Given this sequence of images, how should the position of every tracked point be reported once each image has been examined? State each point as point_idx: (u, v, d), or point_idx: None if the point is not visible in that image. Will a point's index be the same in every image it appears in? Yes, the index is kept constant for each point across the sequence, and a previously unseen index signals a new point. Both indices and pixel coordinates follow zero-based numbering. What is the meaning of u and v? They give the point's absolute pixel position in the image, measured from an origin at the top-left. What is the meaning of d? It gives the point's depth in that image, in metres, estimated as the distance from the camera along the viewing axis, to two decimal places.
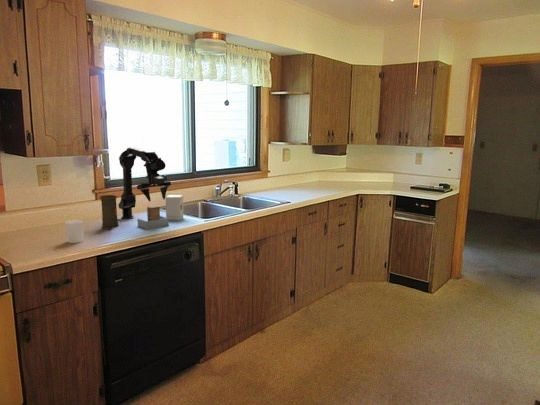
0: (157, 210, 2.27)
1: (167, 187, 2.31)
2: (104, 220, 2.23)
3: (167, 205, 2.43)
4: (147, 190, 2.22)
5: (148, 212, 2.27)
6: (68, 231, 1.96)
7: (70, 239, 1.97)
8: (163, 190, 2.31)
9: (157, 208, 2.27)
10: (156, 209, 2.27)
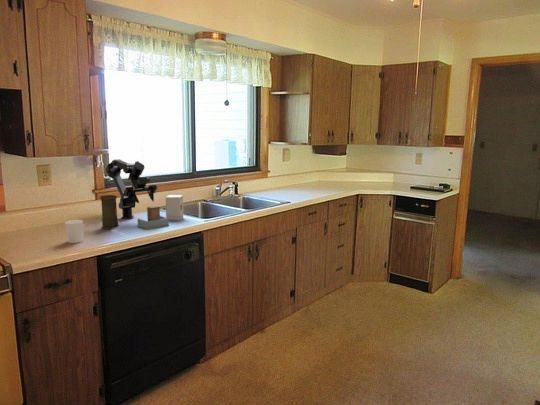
0: (157, 210, 2.27)
1: (153, 189, 2.38)
2: (104, 220, 2.23)
3: (167, 205, 2.43)
4: (133, 192, 2.30)
5: (148, 212, 2.27)
6: (68, 231, 1.96)
7: (70, 239, 1.97)
8: (150, 193, 2.38)
9: (157, 208, 2.27)
10: (156, 209, 2.27)
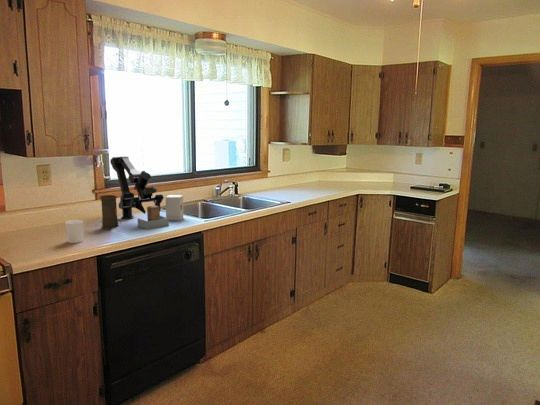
0: (157, 210, 2.27)
1: (160, 199, 2.34)
2: (104, 220, 2.23)
3: (167, 205, 2.43)
4: (139, 202, 2.26)
5: (148, 212, 2.27)
6: (68, 231, 1.96)
7: (70, 239, 1.97)
8: (157, 203, 2.34)
9: (157, 208, 2.27)
10: (156, 209, 2.27)
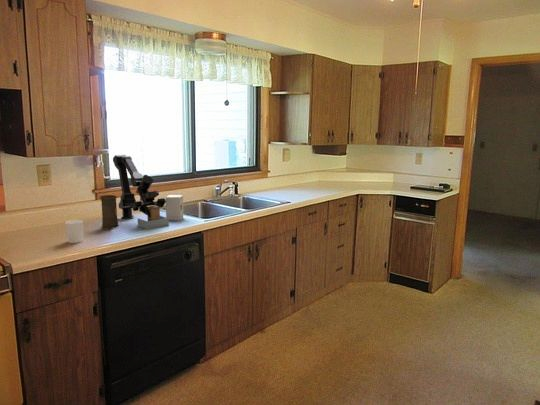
0: (157, 210, 2.27)
1: (159, 203, 2.32)
2: (104, 220, 2.23)
3: (167, 205, 2.43)
4: (145, 206, 2.26)
5: None
6: (68, 231, 1.96)
7: (70, 239, 1.97)
8: None
9: (157, 208, 2.27)
10: (156, 209, 2.27)
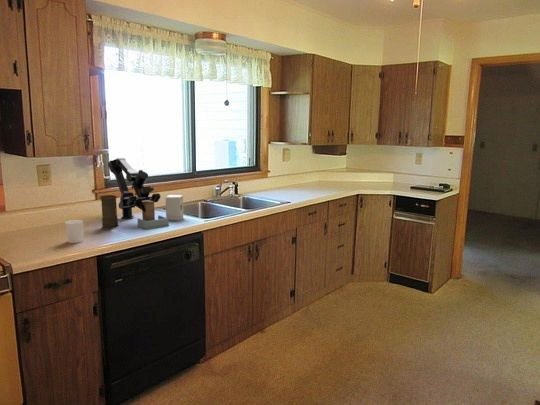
0: (152, 205, 2.31)
1: (154, 198, 2.35)
2: (104, 220, 2.23)
3: (167, 205, 2.43)
4: (140, 201, 2.29)
5: None
6: (68, 231, 1.96)
7: (70, 239, 1.97)
8: None
9: (152, 203, 2.31)
10: (150, 204, 2.30)
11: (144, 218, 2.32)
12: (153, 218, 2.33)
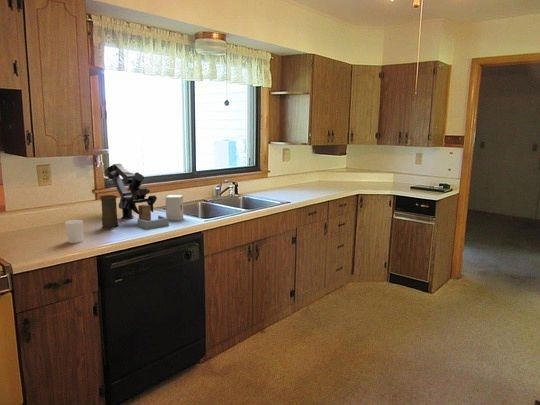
0: (148, 209, 2.35)
1: (153, 200, 2.40)
2: (104, 220, 2.23)
3: (167, 205, 2.43)
4: (133, 203, 2.32)
5: (139, 211, 2.35)
6: (68, 231, 1.96)
7: (70, 239, 1.97)
8: (150, 204, 2.40)
9: (148, 207, 2.34)
10: (147, 208, 2.34)
11: None
12: None
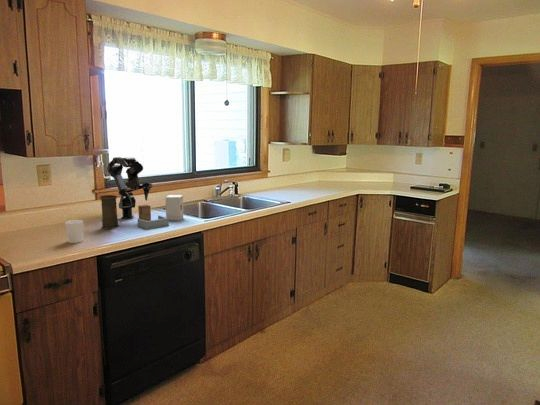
0: (148, 209, 2.35)
1: (145, 188, 2.36)
2: (104, 220, 2.23)
3: (167, 205, 2.43)
4: (125, 195, 2.37)
5: (139, 211, 2.35)
6: (68, 231, 1.96)
7: (70, 239, 1.97)
8: None
9: (148, 207, 2.35)
10: (147, 208, 2.34)
11: None
12: None
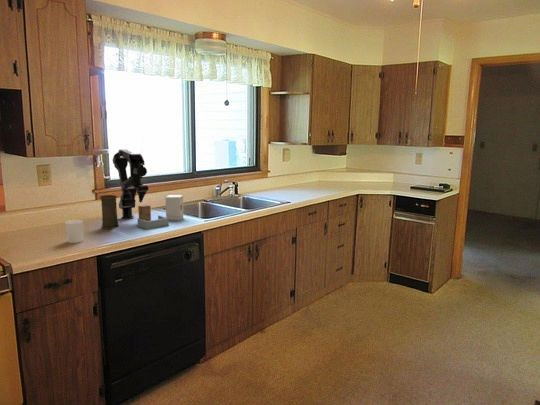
0: (148, 209, 2.35)
1: (137, 192, 2.30)
2: (104, 220, 2.23)
3: (167, 205, 2.43)
4: (128, 190, 2.40)
5: (139, 211, 2.35)
6: (68, 231, 1.96)
7: (70, 239, 1.97)
8: None
9: (148, 207, 2.35)
10: (147, 208, 2.34)
11: None
12: None
